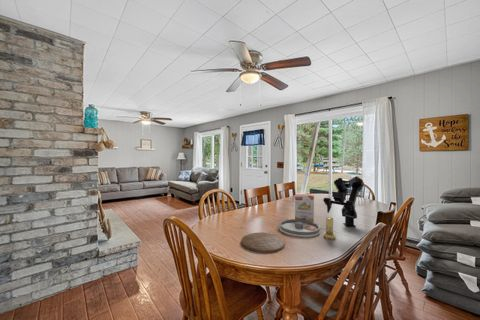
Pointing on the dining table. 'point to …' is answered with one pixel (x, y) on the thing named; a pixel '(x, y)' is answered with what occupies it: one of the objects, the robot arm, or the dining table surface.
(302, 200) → the cracker box
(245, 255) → the dining table surface
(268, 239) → the trivet
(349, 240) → the dining table surface
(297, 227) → the round grey tray
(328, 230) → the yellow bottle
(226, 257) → the dining table surface
